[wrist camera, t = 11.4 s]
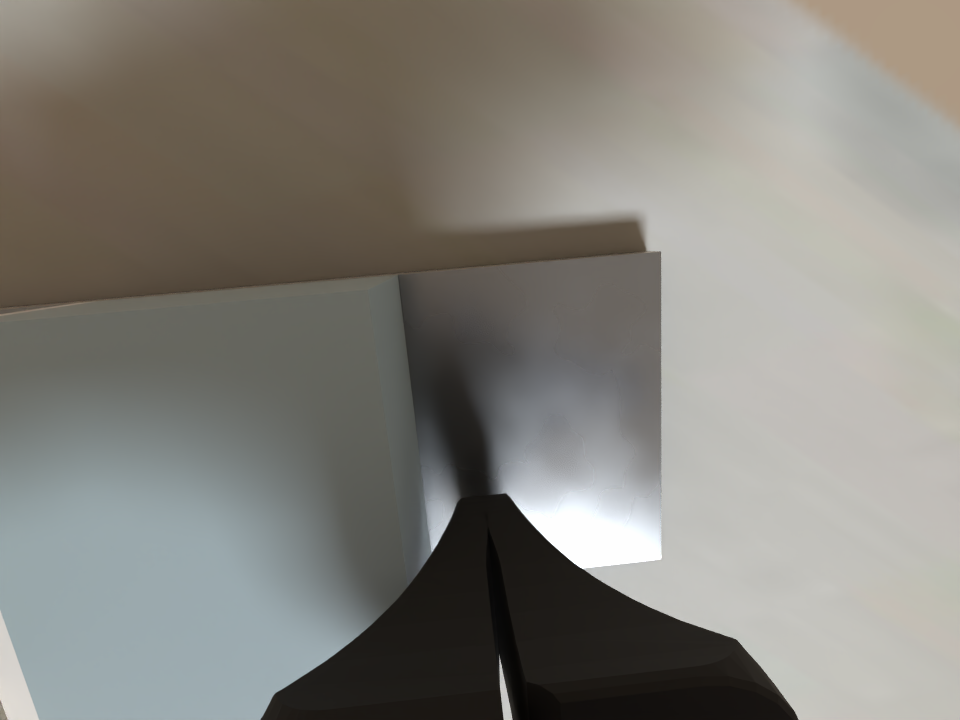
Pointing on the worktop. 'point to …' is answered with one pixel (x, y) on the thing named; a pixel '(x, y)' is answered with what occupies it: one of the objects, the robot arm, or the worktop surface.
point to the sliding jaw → (201, 496)
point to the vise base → (538, 395)
